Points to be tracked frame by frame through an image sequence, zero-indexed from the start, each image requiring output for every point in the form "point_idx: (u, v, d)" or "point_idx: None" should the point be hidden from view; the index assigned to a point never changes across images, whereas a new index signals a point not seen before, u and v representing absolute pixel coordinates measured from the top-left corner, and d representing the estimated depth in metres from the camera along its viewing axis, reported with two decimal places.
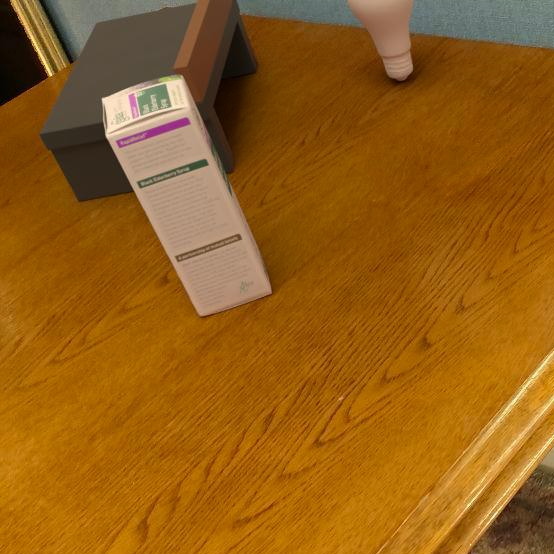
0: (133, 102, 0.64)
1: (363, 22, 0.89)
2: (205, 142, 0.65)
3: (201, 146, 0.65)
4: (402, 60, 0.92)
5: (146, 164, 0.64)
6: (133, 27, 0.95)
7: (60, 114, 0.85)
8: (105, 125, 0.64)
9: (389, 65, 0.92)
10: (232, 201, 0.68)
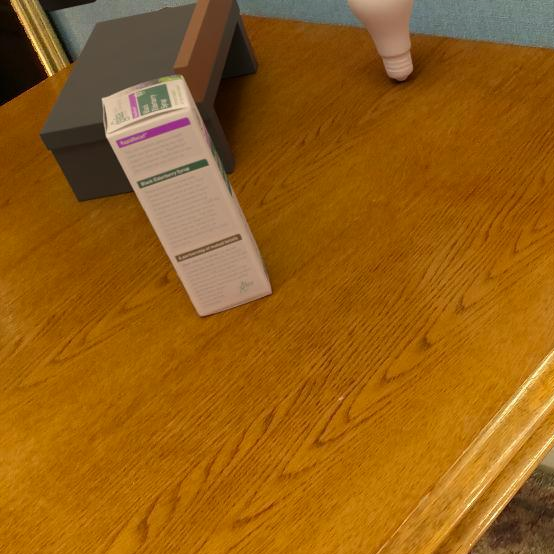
0: (133, 102, 0.64)
1: (363, 22, 0.89)
2: (205, 142, 0.65)
3: (201, 146, 0.65)
4: (402, 60, 0.92)
5: (146, 164, 0.64)
6: (133, 27, 0.95)
7: (60, 114, 0.85)
8: (105, 125, 0.64)
9: (389, 65, 0.92)
10: (232, 201, 0.68)
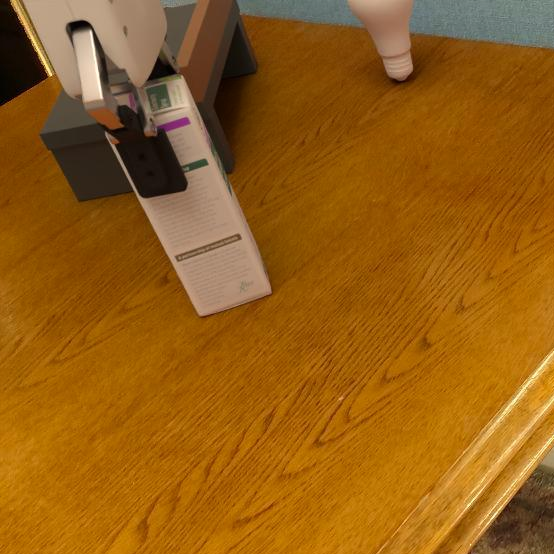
0: (133, 102, 0.64)
1: (363, 22, 0.89)
2: (205, 142, 0.65)
3: (201, 146, 0.65)
4: (402, 60, 0.92)
5: None
6: None
7: (60, 114, 0.85)
8: None
9: (389, 65, 0.92)
10: (232, 201, 0.68)
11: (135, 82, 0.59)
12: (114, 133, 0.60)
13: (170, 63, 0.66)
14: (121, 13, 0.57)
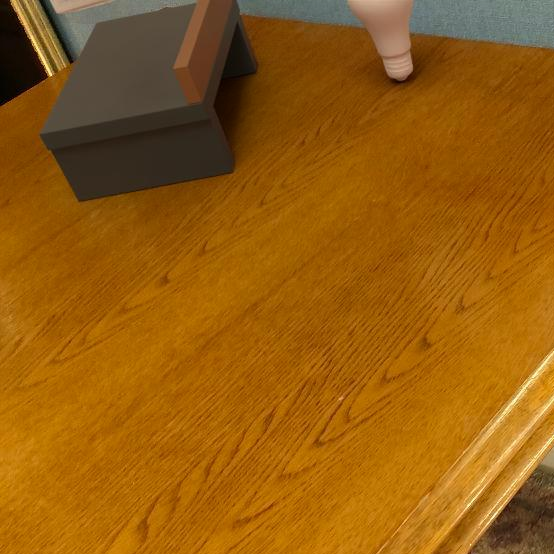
0: None
1: (363, 22, 0.89)
2: None
3: None
4: (402, 60, 0.92)
5: None
6: (133, 27, 0.95)
7: (60, 114, 0.85)
8: None
9: (389, 65, 0.92)
10: None
11: None
12: None
13: None
14: None
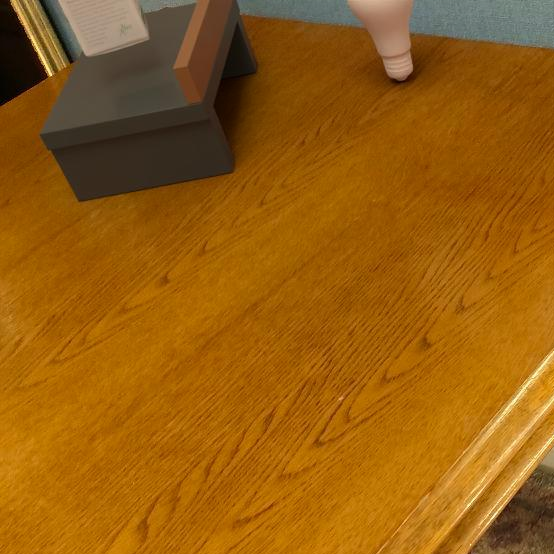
0: None
1: (363, 22, 0.89)
2: None
3: None
4: (402, 60, 0.92)
5: None
6: None
7: (60, 114, 0.85)
8: None
9: (389, 65, 0.92)
10: None
11: None
12: None
13: None
14: None
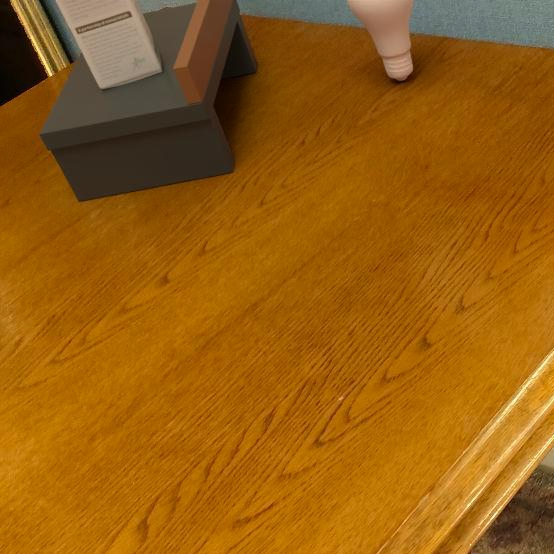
0: None
1: (363, 22, 0.89)
2: None
3: None
4: (402, 60, 0.92)
5: None
6: None
7: (60, 114, 0.85)
8: None
9: (389, 65, 0.92)
10: None
11: None
12: None
13: None
14: None
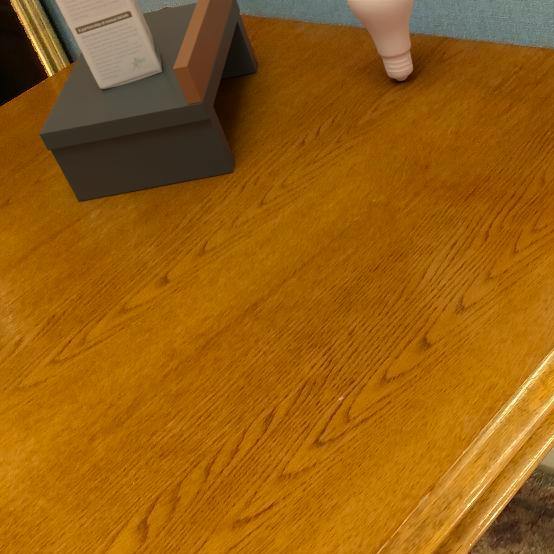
0: None
1: (363, 22, 0.89)
2: None
3: None
4: (402, 60, 0.92)
5: None
6: None
7: (60, 114, 0.85)
8: None
9: (389, 65, 0.92)
10: None
11: None
12: None
13: None
14: None
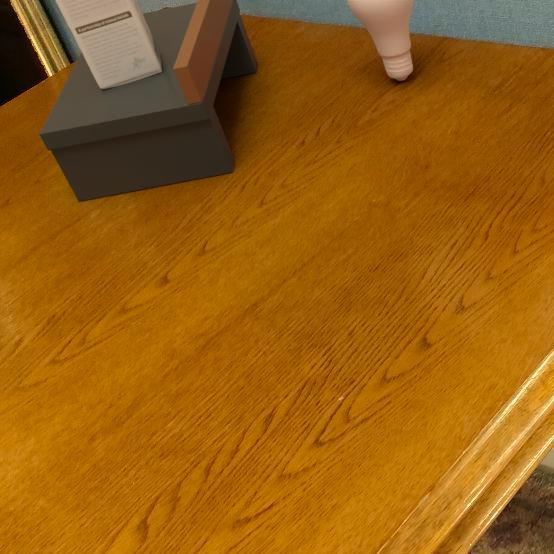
0: None
1: (363, 22, 0.89)
2: None
3: None
4: (402, 60, 0.92)
5: None
6: None
7: (60, 114, 0.85)
8: None
9: (389, 65, 0.92)
10: None
11: None
12: None
13: None
14: None
